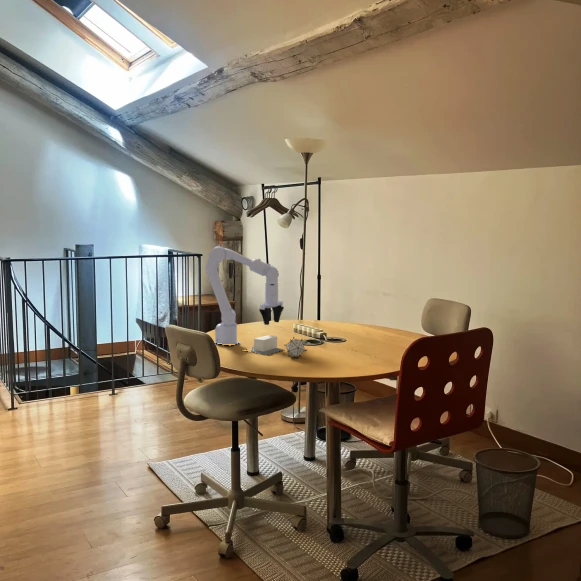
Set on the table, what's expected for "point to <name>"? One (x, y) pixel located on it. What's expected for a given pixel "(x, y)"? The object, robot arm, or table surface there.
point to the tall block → (265, 343)
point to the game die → (295, 347)
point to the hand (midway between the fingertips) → (271, 323)
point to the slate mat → (267, 351)
